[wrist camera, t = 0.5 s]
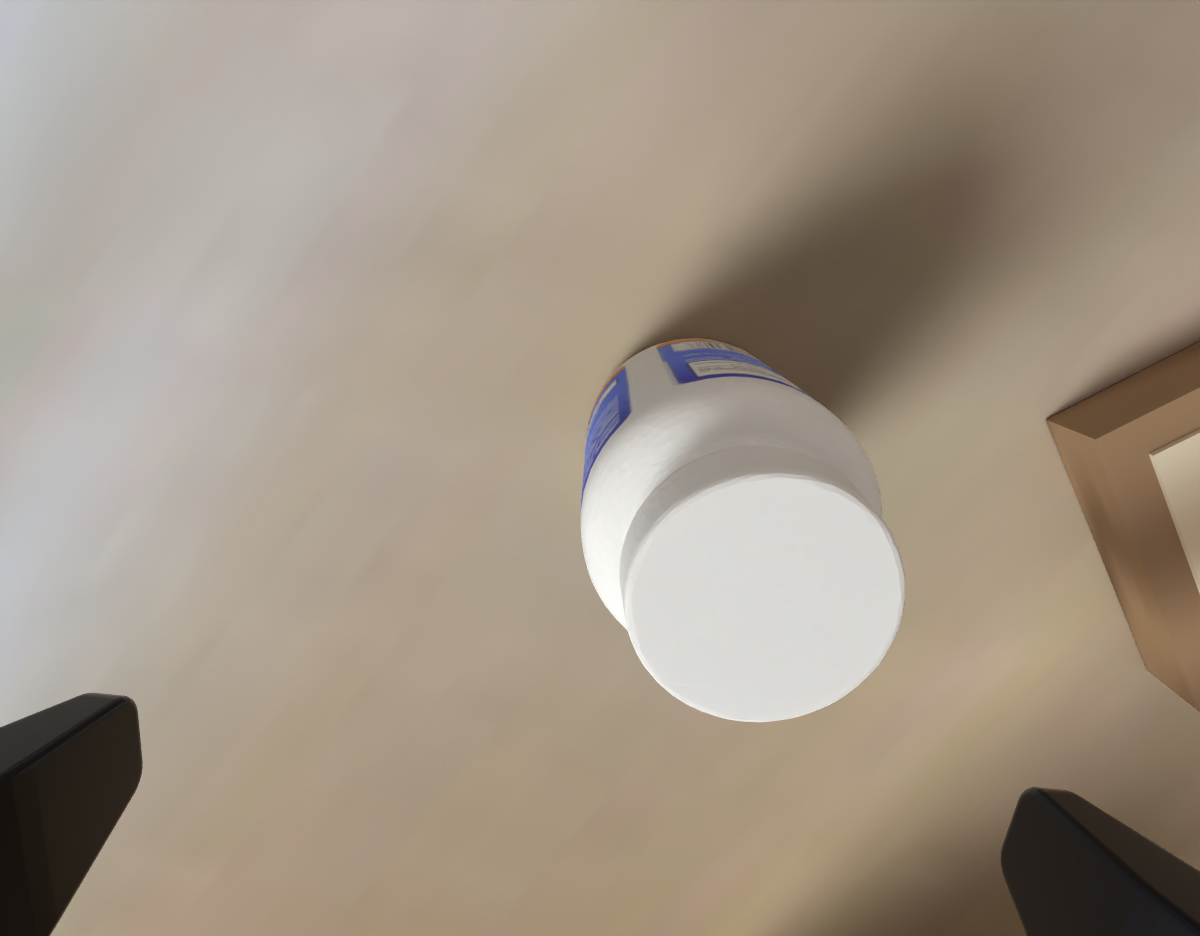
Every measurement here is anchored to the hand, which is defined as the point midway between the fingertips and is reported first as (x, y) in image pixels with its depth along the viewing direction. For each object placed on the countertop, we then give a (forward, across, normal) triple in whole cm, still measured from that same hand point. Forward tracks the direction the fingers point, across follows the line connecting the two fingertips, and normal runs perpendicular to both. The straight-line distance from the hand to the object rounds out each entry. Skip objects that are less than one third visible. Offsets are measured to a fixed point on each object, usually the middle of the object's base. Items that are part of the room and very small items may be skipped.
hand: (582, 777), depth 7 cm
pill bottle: (+13, -2, -1) cm, 13 cm away
